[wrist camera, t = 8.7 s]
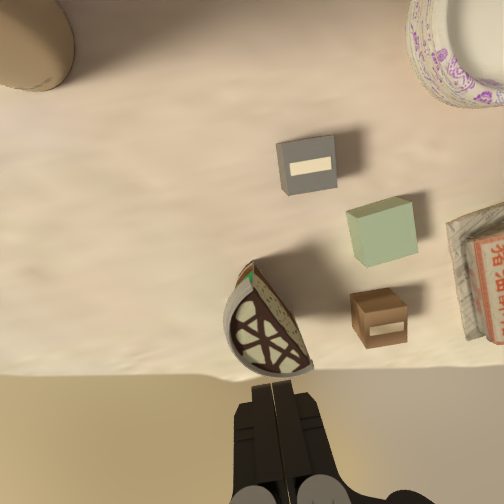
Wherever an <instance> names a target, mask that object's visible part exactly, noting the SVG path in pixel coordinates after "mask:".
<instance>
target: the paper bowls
mask: <svg viewBox="0 0 504 504" xmlns="http://www.w3.org/2000/svg"><path fill="white" fill-rule="evenodd" d="M405 29H406V47H407V51H408V55H409V58H410V61H411V65H412V68H413V71H414V73H415V74H416V76H417V78H418V79H419V80H420V82H421V84H422V86H423V87H424V88H425V89H426V90H427V91H428V92H429V93H430V94H431V95H432V96H434V97H435V98H436V99H438V100H439V101H441V102H444V103H445V104H448V105H450V106H455V107H458V108H471V109H479V108H488V107H497V106H504V0H411V2H410V6H409V10H408V16H407V21H406V28H405Z"/></svg>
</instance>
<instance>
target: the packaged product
mask: <svg viewBox="0 0 504 504" xmlns="http://www.w3.org/2000/svg"><path fill="white" fill-rule="evenodd" d="M446 230H447V238H448V243H449V247H450V252H451V257H452V263H453V270H454V277H455V282H456V293H457V296H458V297H457V298H458V302H459V305H460V310H461V317H462V323H463V328H464V332H465V337H466V340H467V341H470V340H473V339H476V338H479V337H483V336H484V335H486V339H488V340H489V341H490V342H493V343H494V344H496V345H504V202H503V203H500V204H497V205H494V206H491V207H488V208H485V209H482V210H479V211H476V212H473V213H470V214H467V215H464V216H462V217H459V218H457V219H455V220H452V221H450V222H448V223H446Z"/></svg>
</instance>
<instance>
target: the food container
mask: <svg viewBox="0 0 504 504" xmlns="http://www.w3.org/2000/svg"><path fill="white" fill-rule="evenodd" d="M223 326H224V332H225V335H226V339H227V342H228V344H229V347H230V349H231V351H232V352H233V354H234V355H235V356H236V358H237V359H238V360H239V361H240V362H241V363H242V364H243V365H244V366H245V367H247V368H248V369H250V370H251V371H253V372H255V373H257V374H260V375H263V376H266V377H271V378H292V377H297V376H301V375H304V374H307V373H309V372H311V371H313V370H314V365H313V361H312V359H310V357H309V354H308V352H307V349H306V346H305V344H304V341H303V339H302V336H301V333H300V331H299V328H298V325H297V323H296V320H295V318H294V315H293V313H292V312H291V310H290V309H289V308H288V306H287V305H286V304H285V302H284V301H283V300H282V298H281V297H280V296H279V294H278V293H277V291H276V290H275V289H274V287H273V286H272V285H271V283H270V282H269V281H268V279H267V278H266V277H265V275H264V274H263V273H262V271H261V270H260V269H259V267H258V266H257V265H256V263H255V262H254V261H253V260H252V261H251V262H250V263H249V264H247V265H246V266H245V268H244V269H243V270H242V272H241V273H240V275H239V277H238V280H237V283H236V287H235V290H234V291H233V293H232V294H231V296H230V297H229V299H228V301H227V304H226V306H225V310H224V316H223Z"/></svg>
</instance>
